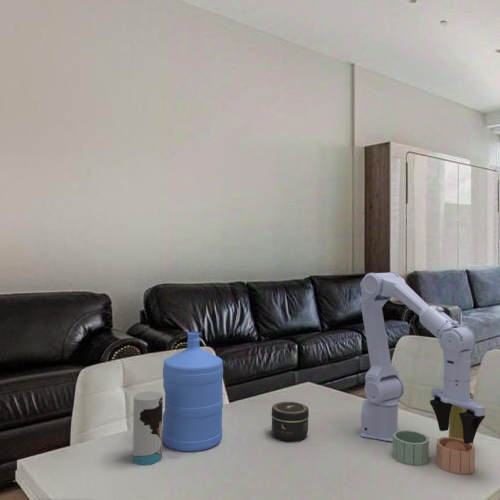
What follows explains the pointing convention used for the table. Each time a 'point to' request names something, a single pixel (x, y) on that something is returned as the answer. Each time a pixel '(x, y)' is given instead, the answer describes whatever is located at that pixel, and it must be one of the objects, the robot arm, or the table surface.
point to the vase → (456, 421)
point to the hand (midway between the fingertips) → (455, 436)
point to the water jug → (192, 398)
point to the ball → (455, 446)
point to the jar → (290, 421)
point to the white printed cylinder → (147, 428)
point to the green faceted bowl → (410, 447)
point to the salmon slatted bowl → (455, 457)
